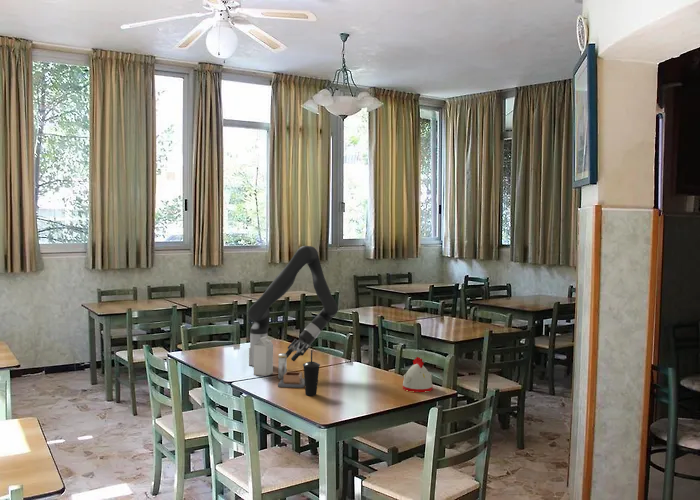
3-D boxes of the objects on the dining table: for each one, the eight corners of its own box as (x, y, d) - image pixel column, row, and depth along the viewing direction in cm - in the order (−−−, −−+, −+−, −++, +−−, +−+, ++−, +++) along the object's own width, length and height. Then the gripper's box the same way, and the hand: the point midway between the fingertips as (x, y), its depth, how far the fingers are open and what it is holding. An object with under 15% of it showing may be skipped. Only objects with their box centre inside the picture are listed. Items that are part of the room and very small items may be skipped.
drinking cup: (312, 397, 275) (313, 352, 275) (298, 395, 279) (299, 350, 279) (322, 394, 282) (323, 350, 281) (309, 391, 286) (309, 348, 285)
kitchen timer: (412, 394, 285) (413, 361, 285) (397, 386, 298) (398, 355, 297) (438, 391, 291) (438, 359, 291) (422, 384, 304) (423, 353, 303)
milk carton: (253, 374, 315) (254, 337, 315) (260, 371, 322) (261, 335, 321) (265, 376, 313) (266, 338, 312) (272, 373, 319) (273, 336, 319)
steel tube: (277, 379, 308) (277, 354, 307) (278, 377, 312) (279, 353, 311) (285, 379, 307) (286, 355, 307) (287, 377, 312) (287, 353, 311)
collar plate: (277, 386, 293) (278, 376, 292) (282, 380, 305) (282, 370, 304) (303, 387, 292) (303, 377, 292) (306, 381, 304) (307, 371, 304)
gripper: (299, 327, 321) (278, 351, 316) (311, 331, 309) (290, 356, 303) (308, 336, 324) (287, 360, 319) (320, 341, 312) (299, 366, 306)
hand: (288, 358), depth 311 cm, fingers open, 8 cm apart
